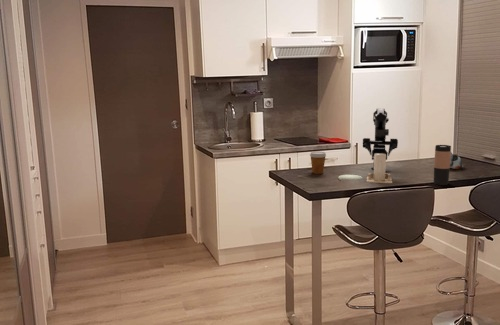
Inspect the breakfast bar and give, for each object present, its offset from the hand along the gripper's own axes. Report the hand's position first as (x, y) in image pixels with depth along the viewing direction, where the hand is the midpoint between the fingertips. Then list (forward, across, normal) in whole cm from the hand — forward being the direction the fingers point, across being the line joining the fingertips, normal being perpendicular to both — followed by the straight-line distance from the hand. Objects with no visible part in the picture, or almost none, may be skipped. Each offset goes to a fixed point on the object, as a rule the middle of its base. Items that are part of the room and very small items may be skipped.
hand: (379, 155), depth 259 cm
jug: (+15, 0, +3) cm, 15 cm away
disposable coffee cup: (+2, -35, +17) cm, 39 cm away
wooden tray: (+14, 0, +4) cm, 15 cm away
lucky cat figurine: (-18, +42, +37) cm, 59 cm away
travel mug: (+13, +31, +6) cm, 35 cm away
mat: (+12, -15, +7) cm, 20 cm away
